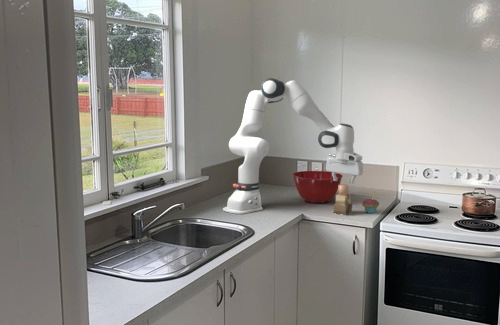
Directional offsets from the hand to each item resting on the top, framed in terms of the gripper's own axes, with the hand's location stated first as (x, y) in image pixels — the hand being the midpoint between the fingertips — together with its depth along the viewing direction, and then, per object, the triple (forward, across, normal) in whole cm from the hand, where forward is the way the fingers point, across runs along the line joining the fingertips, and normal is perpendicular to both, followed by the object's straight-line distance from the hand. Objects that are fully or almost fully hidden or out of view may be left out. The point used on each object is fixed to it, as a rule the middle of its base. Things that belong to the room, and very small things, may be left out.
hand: (343, 182), depth 266 cm
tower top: (+12, 0, +1) cm, 12 cm away
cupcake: (+17, +10, +12) cm, 23 cm away
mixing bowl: (+17, -26, +17) cm, 35 cm away
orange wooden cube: (+7, 0, +1) cm, 7 cm away
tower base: (+17, 0, +1) cm, 17 cm away
